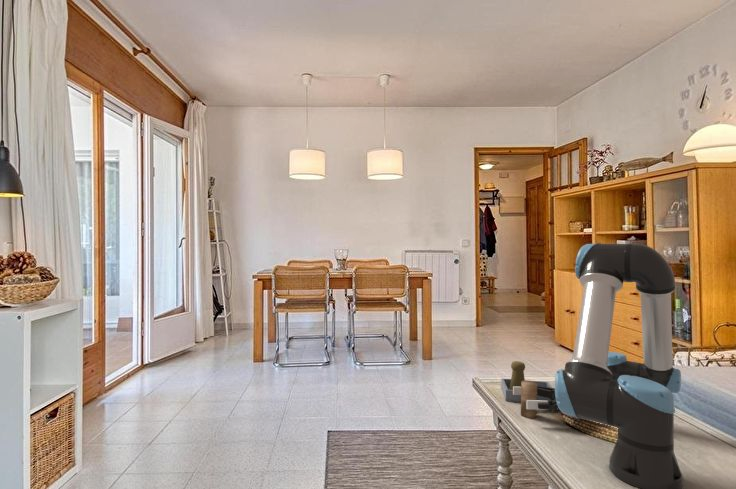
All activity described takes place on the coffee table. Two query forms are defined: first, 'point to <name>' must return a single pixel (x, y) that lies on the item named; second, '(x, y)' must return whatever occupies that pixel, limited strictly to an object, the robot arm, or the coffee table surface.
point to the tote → (517, 398)
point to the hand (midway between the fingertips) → (519, 397)
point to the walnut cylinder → (528, 398)
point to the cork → (517, 374)
